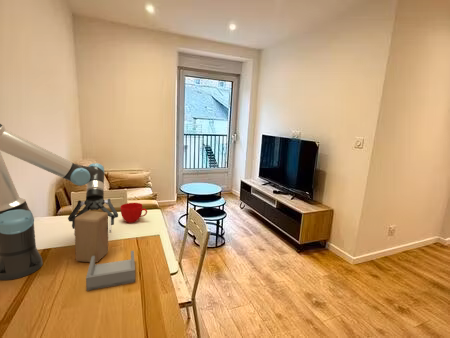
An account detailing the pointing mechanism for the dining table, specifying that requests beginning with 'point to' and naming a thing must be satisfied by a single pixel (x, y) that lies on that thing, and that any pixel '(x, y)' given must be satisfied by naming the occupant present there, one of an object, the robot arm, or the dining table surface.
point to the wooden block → (91, 235)
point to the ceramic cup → (132, 212)
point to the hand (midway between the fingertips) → (93, 233)
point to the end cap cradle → (110, 273)
